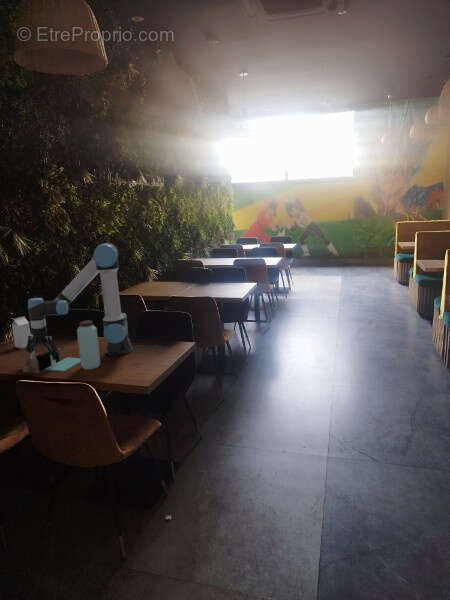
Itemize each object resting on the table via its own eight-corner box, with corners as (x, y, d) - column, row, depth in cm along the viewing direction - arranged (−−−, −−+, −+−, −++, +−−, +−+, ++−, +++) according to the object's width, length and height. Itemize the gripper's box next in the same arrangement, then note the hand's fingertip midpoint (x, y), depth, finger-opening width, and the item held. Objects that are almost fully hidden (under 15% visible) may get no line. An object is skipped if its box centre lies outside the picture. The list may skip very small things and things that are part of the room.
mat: (85, 359, 234) (84, 358, 234) (64, 371, 217) (64, 370, 217) (66, 358, 237) (66, 357, 237) (45, 370, 221) (45, 368, 220)
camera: (52, 360, 235) (50, 347, 234) (61, 362, 232) (60, 348, 230) (31, 369, 223) (29, 355, 221) (40, 371, 220) (38, 356, 218)
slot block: (61, 360, 235) (60, 348, 233) (37, 373, 216) (35, 360, 215) (48, 359, 237) (47, 347, 236) (23, 371, 219) (21, 359, 217)
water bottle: (89, 371, 216) (84, 325, 211) (77, 368, 221) (71, 323, 216) (104, 365, 224) (99, 320, 219) (92, 362, 229) (87, 318, 224)
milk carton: (32, 345, 264) (28, 316, 260) (21, 348, 258) (17, 319, 254) (25, 344, 268) (21, 315, 264) (15, 347, 262) (10, 318, 258)
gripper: (62, 326, 222) (67, 363, 226) (25, 324, 229) (30, 360, 234) (53, 329, 215) (58, 368, 219) (14, 327, 222) (20, 365, 226)
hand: (43, 364), depth 226 cm, fingers open, 12 cm apart
